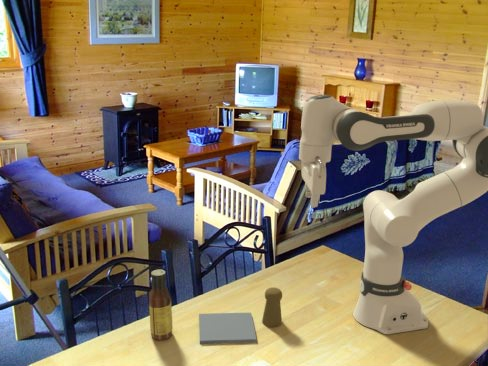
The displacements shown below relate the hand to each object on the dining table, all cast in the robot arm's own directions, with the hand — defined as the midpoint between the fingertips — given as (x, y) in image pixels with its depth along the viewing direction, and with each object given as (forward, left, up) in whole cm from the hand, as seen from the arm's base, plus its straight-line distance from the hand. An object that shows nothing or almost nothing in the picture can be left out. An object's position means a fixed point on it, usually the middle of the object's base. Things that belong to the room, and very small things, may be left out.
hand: (311, 201), depth 151 cm
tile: (+24, +4, -38) cm, 45 cm away
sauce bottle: (+43, +6, -39) cm, 58 cm away
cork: (+10, +1, -39) cm, 40 cm away
